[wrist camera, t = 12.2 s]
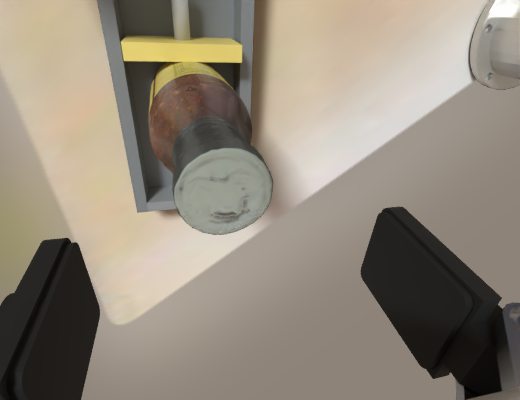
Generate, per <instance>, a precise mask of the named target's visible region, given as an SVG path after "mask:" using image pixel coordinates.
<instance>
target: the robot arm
mask: <svg viewBox="0 0 520 400" xmlns="http://www.w3.org/2000/svg"><path fill="white" fill-rule="evenodd" d="M470 65H471V68H472V72H473V74H474V76H475V78H476V80H477V81H479V82H480V83H481V84H482V85H484V86H486V87H489V88H493V89H498V90H501V89H502V90H503V89H504V90H505V89H509V88H513V87H516V86H518V85H520V0H490V1H489V2H488V4H487V5H486V7H485V9H484V11H483V13H482V14H481V16H480V18H479V21H478V23H477V26H476V28H475V31H474V34H473V38H472V42H471V49H470ZM361 277H362V279H363V281H364V282H365V284H366V285H367V287H368V288H369V290H370V291H371V293H372V294H373V296H374V297H375V299H376V300H377V302H378V303H379V305H380V306H381V308H382V309H383V311H384V312H385V314H386V315H387V317H388V318H389V320H390V321H391V323H392V324H393V326H394V327H395V329H396V330H397V332H398V333H399V335H400V336H401V338H402V339H403V341H404V342H405V344H406V345H407V347H408V348H409V350H410V351H411V353H412V354H413V356H414V357H415V359H416V360H417V361H418V363H419V364H420V366H421V367H423V368H425V369H427V371H428V372H429V374H430V375H431V377H432V378H433V379H435V378H439V377H443V376H447V375H449V373H450V372H451V373H452V374H453V376H454V377H455V379H456V400H520V303H510V304H506V305H505V307H504V308H503V309H502V308H501V307H500V306H498V303H499V301H500V300H501V299H502V298H501V297H500V296H499V295H498V294H497V293H496V292H495V291H494V290H493V289H492V288H491V287H489V286H488V285H487V284H486V283H485V282H484V281H483V280H482V279H481V278H480V277H479V276H477V275H476V274H475V273H474V272H473V271H472V270H471V269H470V268H469V267H468V266H467V265H465V264H464V263H463V262H462V261H461V260H460V259H459V258H458V257H457V256H456V255H455V254H454V253H452V252H451V251H450V250H449V249H448V248H447V247H446V246H445V245H444V244H443V243H442V242H440V241H439V240H438V239H437V238H436V237H435V236H434V235H433V234H432V233H431V232H430V231H429V230H427V229H426V228H425V227H424V226H423V225H422V224H421V223H420V222H419V221H418V220H417V219H415V218H414V217H413V216H412V215H411V214H410V213H409V212H408V211H407V210H406V209H404V208H403V207H391V208H385V209H383V210H382V212H381V213H380V214H378V216H377V219H376V223H375V226H374V229H373V232H372V235H371V239H370V242H369V245H368V248H367V251H366V255H365V258H364V261H363V264H362V267H361ZM99 317H100V309H99V304H98V301H97V298H96V295H95V292H94V289H93V286H92V283H91V280H90V277H89V274H88V271H87V268H86V265H85V263H84V260H83V257H82V254H81V251H80V248H79V245H78V244H77V243H76V242H75V243H71V241H70V240H69V239H68V238H62V239H51V240H44V241H42V243H41V244H40V246H39V248H38V250H37V252H36V253H35V255H34V257H33V259H32V261H31V263H30V265H29V267H28V269H27V270H26V272H25V274H24V276H23V278H22V280H21V282H20V283H19V285H18V287H17V289H16V291H15V293H12V294H10V295H8V296H7V297H6V298H5V299H4V301H3V302H2V304H1V306H0V400H81V397H82V392H83V387H84V383H85V379H86V375H87V371H88V366H89V362H90V357H91V353H92V349H93V344H94V340H95V334H96V331H97V326H98V322H99Z"/></svg>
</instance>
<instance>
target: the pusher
mask: <svg viewBox="0 0 520 400" xmlns="http://www.w3.org/2000/svg"><path fill="white" fill-rule="evenodd" d="M171 3H172V15H173V27H174V36H147V35H127V36H126V37H125V38H124V39H123V40H122V41H121V46H122V52H123V59H124V61H158V62H227V63H242V45H241V44H239V43H238V42H236V41H234V40H233V39H231V38H207V37H190V25H189V8H188V0H171Z"/></svg>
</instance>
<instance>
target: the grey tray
mask: <svg viewBox="0 0 520 400" xmlns="http://www.w3.org/2000/svg"><path fill="white" fill-rule="evenodd" d="M97 2H98V7H99V12H100V18H101V23H102V28H103V33H104V39H105V44H106V49H107V54H108V60H109V65H110V70H111V76H112V81H113V86H114V91H115V97H116V102H117V107H118V112H119V118H120V123H121V128H122V134H123V139H124V144H125V149H126V155H127V160H128V165H129V170H130V176H131V181H132V186H133V192H134V197H135V202H136V207H137V213H138V212H149V211H159V210H170V209H177V208H176V206H175V203H174V197H173V191H172V185H173V184H172V180H173V174H172V172H171V171H170V170H168V169H167V168H166V167H165V166H164V165H163V163H162V162H161V161H160V160H159V159H157V157H156V156H155V153H154V151H153V148H152V145H151V141H150V133H149V121H148V119H149V105H150V92H151V85H152V81H153V78H154V77H155V74H156V72H157V71H158V69H159V68H160V67H161V66H162V65H163V64H165V63H166V62H158V61H124V59H123V52H122V46H121V41H122V40H123V39H124V38H125V37H126V36H127V35H147V36H174V27H173V15H172V3H171V0H97ZM254 2H255V0H188V8H189V25H190V37H207V38H231V39H233V40H234V41H236V42H238V43H239V44H241V45H242V63H227V62H206V63H207V64H209V65H210V66H211V67H212V68H213V69H214V70H215V71H216V72H217V73H218V74H219V75H220V76H221V77H222V78H223V79H224V80H225V81H226V82H227V83H228V84H229V85H230V86H231V87H232V88H233V89H234V91H235V92H236V93H237V94H238V95H239V97H240V98H241V99H242V101H243V102H244V104H245V106H246V108H247V110H248V113H249V116H250V111H251V84H252V57H253V29H254Z"/></svg>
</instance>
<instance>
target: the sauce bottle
mask: <svg viewBox="0 0 520 400" xmlns="http://www.w3.org/2000/svg"><path fill="white" fill-rule="evenodd" d="M148 121H149V133H150V141H151V145H152V148H153V151H154V153H155V156H156V157H157V159H159V160H160V161H161V162H162V163H163V165H164V166H165V167H166V168H167V169H168V170H170V171H171V172H172V174H173V180H172V184H173V185H172V191H173V197H174V203H175V206H176V208H177V211H178V213H179V214H180V216H181V217H182V218H183V220H184V221H185V222H186V223H187V224H189V225H190V226H191V227H192V228H194V229H197V230H199V231H201V232H203V233H208V234H214V235H217V234H218V235H223V234H228V233H233V232H236V231H238V230H241V229H243V228H245V227H247V226H249V225H251V224H252V223H254V222H255V221H256V220H257V219H258V218H259V217H261V216H262V215H263V213H264V212H265V211H266V209H267V207H268V205H269V203H270V200H271V196H272V188H273V180H272V177H271V173H270V171H269V169H268V167H267V165H266V164H265V162H264V160H263V158H262V156H261V155H260V154H259V153H258V151H257V150H256V149H255V148H254V147H252V146H251V145H250V143H251V137H252V125H251V119H250V116H249V113H248V110H247V108H246V106H245V104H244V102H243V101H242V99H241V98H240V97H239V95H238V94H237V93H236V92H235V91H234V89H233V88H232V87H231V86H230V85H229V84H228V83H227V82H226V81H225V80H224V79H223V78H222V77H221V76H220V75H219V74H218V73H217V72H216V71H215V70H214V69H213V68H212V67H211V66H210V65H209V64H207V63H206V62H166V63H165V64H163V65H162V66H161V67H160V68H159V69H158V71H157V72H156V74H155V77H154V78H153V81H152V85H151V92H150V105H149V119H148Z"/></svg>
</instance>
